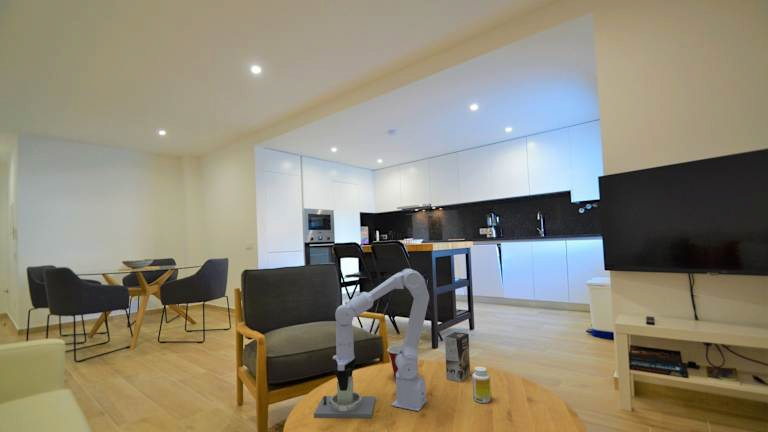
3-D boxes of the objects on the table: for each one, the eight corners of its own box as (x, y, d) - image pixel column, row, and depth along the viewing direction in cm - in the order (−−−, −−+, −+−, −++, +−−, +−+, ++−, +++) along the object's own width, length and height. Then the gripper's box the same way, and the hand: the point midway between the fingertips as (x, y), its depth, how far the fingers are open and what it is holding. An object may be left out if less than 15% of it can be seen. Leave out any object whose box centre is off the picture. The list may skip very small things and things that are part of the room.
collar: (363, 397, 118) (363, 389, 118) (359, 412, 108) (359, 404, 108) (327, 397, 119) (327, 389, 119) (319, 412, 109) (319, 403, 109)
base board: (375, 399, 118) (375, 396, 118) (371, 418, 106) (371, 414, 106) (323, 399, 120) (323, 395, 120) (313, 417, 108) (313, 413, 108)
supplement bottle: (494, 401, 115) (492, 370, 115) (479, 405, 113) (478, 372, 113) (483, 394, 120) (482, 364, 120) (470, 397, 118) (468, 367, 119)
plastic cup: (390, 372, 142) (389, 342, 143) (416, 373, 140) (415, 343, 141) (385, 383, 132) (384, 351, 132) (413, 385, 129) (412, 352, 130)
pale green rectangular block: (339, 401, 116) (339, 376, 116) (353, 401, 115) (353, 376, 116) (336, 407, 111) (336, 382, 112) (351, 407, 111) (350, 382, 111)
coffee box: (461, 382, 130) (459, 338, 131) (445, 378, 134) (444, 336, 135) (471, 374, 138) (469, 333, 139) (456, 371, 141) (454, 331, 142)
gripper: (337, 336, 122) (338, 376, 121) (327, 349, 107) (328, 394, 107) (357, 336, 121) (358, 376, 120) (350, 349, 107) (351, 395, 106)
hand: (345, 385), depth 114 cm, fingers open, 7 cm apart
